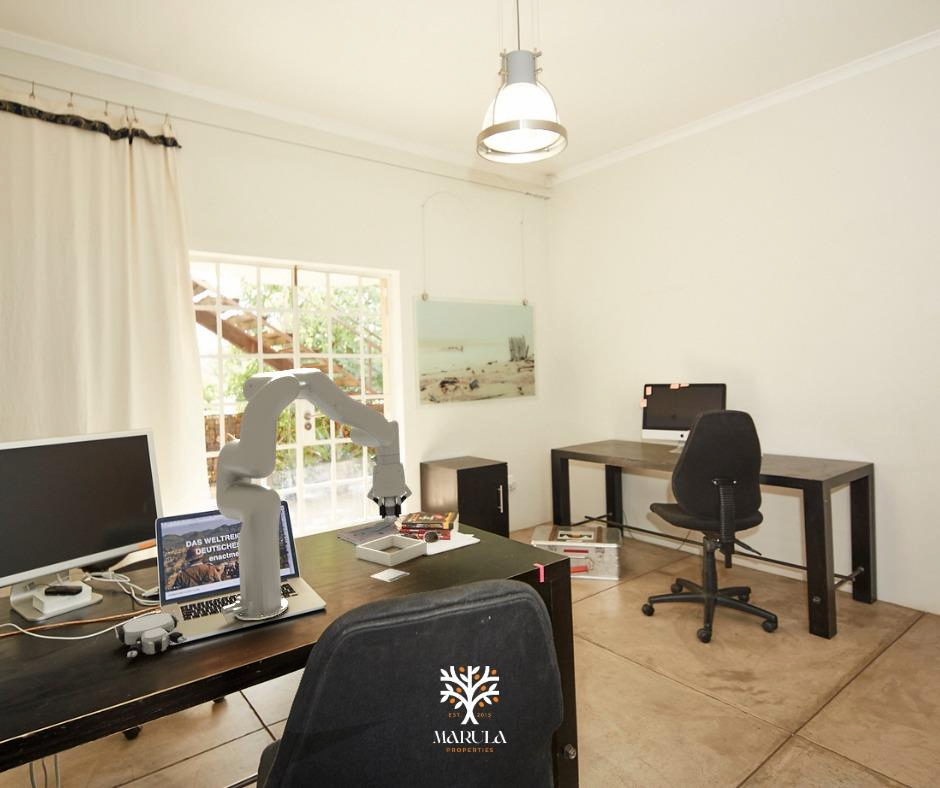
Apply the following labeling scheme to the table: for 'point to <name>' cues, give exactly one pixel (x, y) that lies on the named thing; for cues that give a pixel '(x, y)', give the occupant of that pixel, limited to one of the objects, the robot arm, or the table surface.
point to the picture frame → (369, 532)
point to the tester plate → (390, 575)
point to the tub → (410, 551)
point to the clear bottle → (390, 509)
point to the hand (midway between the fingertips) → (390, 516)
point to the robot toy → (150, 633)
